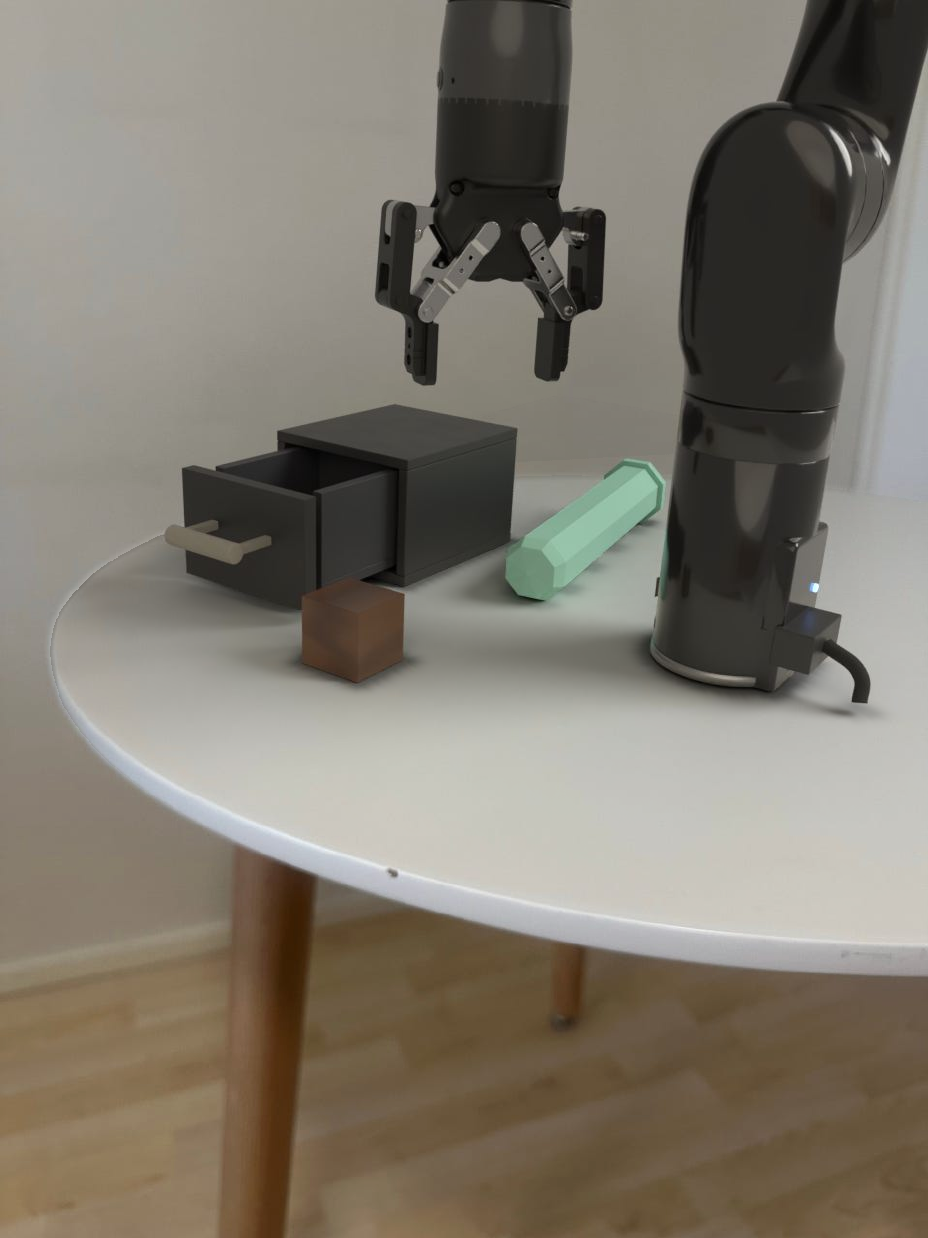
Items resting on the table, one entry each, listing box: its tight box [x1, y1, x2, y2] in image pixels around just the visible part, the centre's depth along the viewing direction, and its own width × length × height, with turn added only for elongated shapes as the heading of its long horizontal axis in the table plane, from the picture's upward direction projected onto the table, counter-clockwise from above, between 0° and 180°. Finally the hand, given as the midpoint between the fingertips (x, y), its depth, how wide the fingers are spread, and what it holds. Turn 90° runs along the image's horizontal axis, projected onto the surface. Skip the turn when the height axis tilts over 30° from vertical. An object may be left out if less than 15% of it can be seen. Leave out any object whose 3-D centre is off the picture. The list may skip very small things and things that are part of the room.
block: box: [301, 577, 406, 684], centre depth 72 cm, size 4×4×4 cm
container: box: [504, 458, 667, 601], centre depth 93 cm, size 6×6×25 cm
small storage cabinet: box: [276, 403, 519, 588], centre depth 92 cm, size 15×13×10 cm
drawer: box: [164, 446, 400, 612], centre depth 82 cm, size 18×11×8 cm, turn 145°
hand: (486, 381), depth 72 cm, fingers open, 8 cm apart
